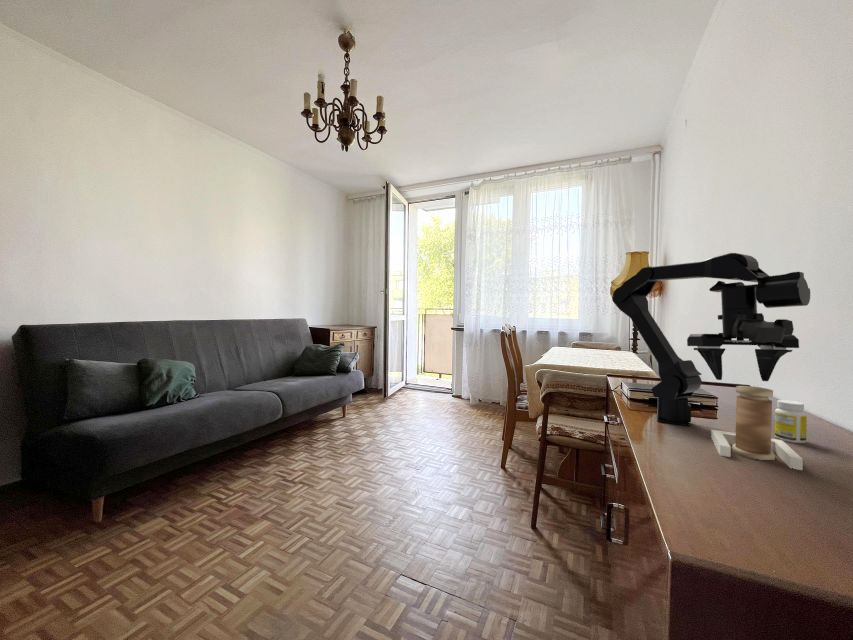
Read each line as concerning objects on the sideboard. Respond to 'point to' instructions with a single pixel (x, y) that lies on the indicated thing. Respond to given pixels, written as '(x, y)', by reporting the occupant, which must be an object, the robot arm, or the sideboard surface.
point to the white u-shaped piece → (778, 446)
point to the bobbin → (753, 423)
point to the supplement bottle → (790, 421)
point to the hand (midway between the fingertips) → (741, 380)
